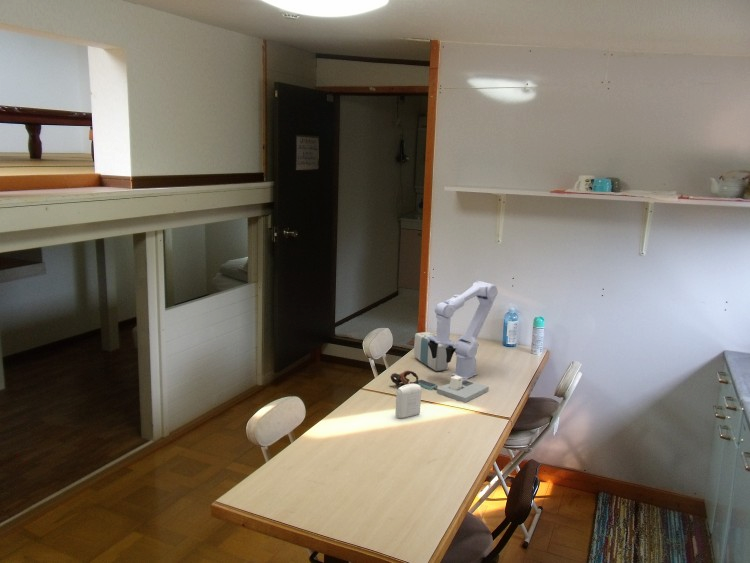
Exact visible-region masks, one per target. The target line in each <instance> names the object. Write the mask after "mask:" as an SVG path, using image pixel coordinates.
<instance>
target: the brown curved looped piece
mask: <svg viewBox="0 0 750 563" xmlns="http://www.w3.org/2000/svg"><path fill="white" fill-rule="evenodd" d="M408 375H412V377H414V378H415V381H410V378H407V376H408ZM390 380H391V381H392V383H394V384H395V385H396V386H398V385H399V384H401V383H403V385H407V384H418V380H419V376H418V374H417V373H415V372H414V371H412V370H404V371H403V372H401V373H396V372H395V373H392V374H391V375H390Z"/></svg>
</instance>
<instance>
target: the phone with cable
mask: <svg viewBox="0 0 750 563" xmlns="http://www.w3.org/2000/svg"><path fill="white" fill-rule="evenodd" d="M418 385H420V387H421V388H424V389H426V390H429V391H433V390H436V391H437V388H439V387H438V384H436V383H433V382H430V381H427V380H424V379H423V378H422V379H418Z"/></svg>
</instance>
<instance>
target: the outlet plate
mask: <svg viewBox="0 0 750 563" xmlns="http://www.w3.org/2000/svg"><path fill="white" fill-rule="evenodd" d="M489 390H490V388H489V386H488V385H485V384H481V383H479V382H475V381H471V380H469V379H463V378H462V389H461V390H458V391H457V390H454V389H451V388H450V382H449V383H446V384H445V385H442V386H440V387H438V388H437V390H436V394H437V395H438V394H439V395H441V396H444V397H447V398H450V399H454V400H456V401H459V402H462V403H464V404H465V403H467V402H469V401H472V400H474V399H475V398H477V397H479V396H481V395H483V394H486V393H487V392H489Z"/></svg>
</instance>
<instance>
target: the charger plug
mask: <svg viewBox="0 0 750 563" xmlns="http://www.w3.org/2000/svg"><path fill="white" fill-rule="evenodd" d="M449 383H450V388H451V389H454V390H457V391H458V390H461V389H462V377H460V376H457V375H455V376H453V375H452V376H451V377H450V381H449Z"/></svg>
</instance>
